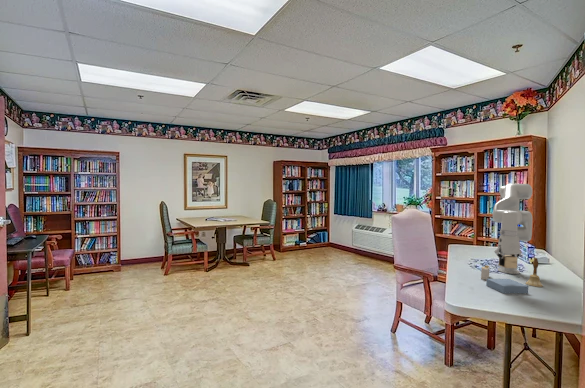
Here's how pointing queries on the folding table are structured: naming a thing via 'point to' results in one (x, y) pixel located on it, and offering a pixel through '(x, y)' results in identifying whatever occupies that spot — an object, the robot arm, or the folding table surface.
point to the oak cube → (510, 261)
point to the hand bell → (534, 276)
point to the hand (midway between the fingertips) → (507, 265)
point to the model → (485, 272)
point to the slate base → (507, 286)
